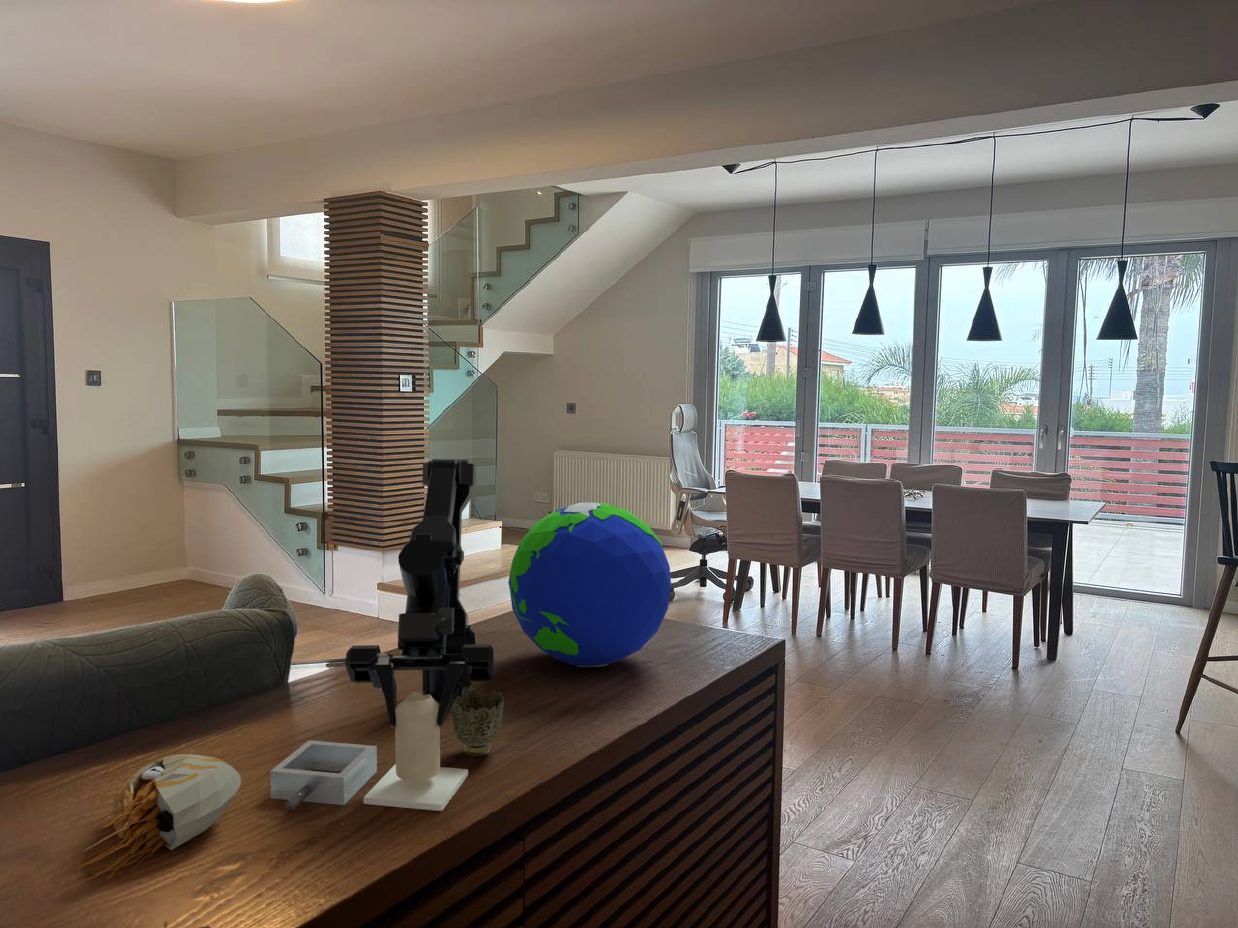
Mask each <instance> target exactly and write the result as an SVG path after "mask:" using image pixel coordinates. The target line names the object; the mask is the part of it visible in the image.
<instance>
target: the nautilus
mask: <svg viewBox="0 0 1238 928" xmlns="http://www.w3.org/2000/svg"><path fill="white" fill-rule="evenodd" d="M241 783H242V779H241V775H240V773H239V771H237V770H236V769H235V768H234V767H233V766H232V765H230V764H228V763H227V762H225V761H224V760H222V759H220V758H218V757H214V756H207V755H202V754H191V753H187V754H185V753H181V754H174V755H169V756H166V757H163V758H160V759H159V760H155V761H154V762H151V763H150V764H147V765H145V766H143V767H141V768H140V769H139V770H137V772H135V773H134V774H133V775H131V776H130V777H129V778H128V779H127V780H126V781H125V783H124V785H123V786H122V787H121V788H120V789H119V790H118V791H117V792H116V793H115V796H114V798H113V801H112V809H111V811H112V812H110V813H108V814H106V815H104V816H103V817H101V818H99V819H97V820H95V821H93V822H91V823H89V824H88V825H86V826H84V828H88V827H90V826H92V825H94V824H95V823H98V822H100V821H102V820H104V819H106V818H107V817H110V816H112V815H113V816H112V817H113V819H112V820H110V821H109V822H108V823H106V824H104V825H102V826H100V827H99V828H97V829H95V830H94V831H92V833H94V832H97V831H99V830H101V829H105V828H107V827H109V826H111V825H113V824H114V829H115V832H113V833H111V834H109V835H107V836H106V837H104V838H102V839H100V840H99V841H97V842H96V843H94V844H92V845H90V846H88V847H87V848H86V849H84V850H82V851H81V853H83V852H86V851H88V850H90V849H91V848H93V847H95V846H96V845H98V844H100V843H102V842H104V841H105V840H107V839H109V838H111V837H113V836H114V835H116V834H117V835H118V837H119V838H121V839H122V840H121V841H120V842H119V843H118V844H116V845H113V846H112V847H111V848H109V849H107V850H105V851H104V852H102V853H100V854H99V855H97V856H96V857H94V858H91V859H90V860H88V861H86V862H84V863H82V864H80V865H78V866H75V867H74V869H78V868H82V867H86V866H88V865H90V864H93V863H95V862H98V861H100V860H102V859H105V857H107V856H109V855H111V854H112V853H114V852H116V851H117V850H119V849H121V848H127V847H130V846H131V848H130V849H129V851H127V852H126V853H125V854H124V855H121V856H120V857H118V858H117V859H115V860H113V861H112V862H109V863H107V864H105V865H103V866H101V867H98V868H96V869H94V870H95V871H98V872H94V873H93V872H90V873H89V875H93V876H90V877H89V878H87V879H84V880H81V881H80V882H87V881H88V880H92V879H94V878H95V877H98V876H100V875H101V874H103V873H108V872H112V871H113V872H112V873H111V875H110V876H109V877H108V878H107V880H109V879H111V878H112V877H113V876H114V874H115V873H116V872H117V871H118V870H119V869H121V868H123V867H126V866H130V865H132V864H134V863H135V862H137V861H139V860H140V859H141V858H142V857H143V856H144V855H145V854H148V853H149V854H148V855H145V856H144V857H143V858H142V859H141V860H140V861H139V862H137V864H136V865H135V866H134V868H133V869H132V871H130V873H133V872H134V871H135V870H136V868H137V867H138V866H139V865H140V864H141V863H142V862H143V861H144V859H145V858H147V857H150V856H151V855H153V854H154V853H155V852H156V851H158V850H159V849H160V848H161V847H162V846H163V847H166V848H167V849H169V850H170V851H172V850H174V849H177V847H179V846H181V845H182V844H184V843H186V842H187V841H190V840H191V839H193V838H195V837H196V836H198V835H200V834H201V833H203V832H205V831H206V830H207V829H209V828H210V827H211V826H212V825H213V824H215V822H217V821H218V820H219V818H220V817H221V815H222V814H223V813H224V811H225V810H226V808H228V807H229V805H230V804H231V803H232V801H233V799H234V797H235V795H236V793H237V791H238V790H239V788H240V787H241V785H242V784H241ZM126 841H127V842H126ZM125 842H126V843H125ZM144 843H145V844H144ZM143 844H144V847H143V848H142V849H141V850H140V851H138V850H139V848H140V847H141V846H142V845H143ZM137 851H138V852H137ZM130 854H131V856H129V855H130ZM138 855H139V856H138ZM128 856H129V857H128ZM134 856H138V857H137V858H135V859H134V860H132V861H129V860H130V859H131V858H133V857H134ZM123 860H124V861H123ZM122 861H123V863H121V864H120V865H118V864H119V863H120V862H122ZM128 861H129V862H128ZM115 865H118V866H115ZM114 866H115V867H114ZM101 869H104V870H102V871H99V870H101Z"/></svg>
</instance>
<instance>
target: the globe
mask: <svg viewBox="0 0 1238 928" xmlns="http://www.w3.org/2000/svg"><path fill="white" fill-rule="evenodd" d="M509 571H510V572H509V577H508V586H509V587H508V588H509V593H510V595H509V596H510V602H511V603H510V604H511V608H512V611H513V613H514V615H515V618H516V619H517V622H518V623H519V625H520V628H521V629H522V631H523V633H524V634H525V635H526V636H527V637H528V638H529V639H530V640H531V641H532V643H534V644H535V646H537V647H538V648H539V649H540V650H541V651H543V652H544V653H546V654H547V655H550V656H551V657H552V658H554V659H556V660H559V661H561V662H563V663H567V664H571V665H574V666H576V667H582V668H587V667H589V668H590V667H591V668H592V667H593V668H597V667H600V668H601V667H606V666H609V665H610V664H613V663H618V662H619V661H621V660H623V659H625V658H627V657H629V656H631V655H633V654H634V653H637V652H638V651H640V650H641V649H642V648H643V647H644V646H645V645H646V644H647V643H648V642H649V641H650V640H651V638H653V636H654V635H655V634H657V633H658V631H659V630H660V627H661V624H663V623H662V622H663V620H664V618H665V616H666V614H667V613H668V610H669V605H670V596H671V590H672V588H671V587H672V580H671V579H672V578H671V577H672V576H671V566H670V563H669V561H668V558H667V556H666V553H665V550H664V545H663V543H662V541H660V539H659V538H658V536H657V535H656V534H655V533H654V531H653V530H652V529H651V528H650V526H649V525H648V524H647V523H645V522H644V521H643V520H641V519H640V518H638V517H637V516H635V515H634V514H633V513H631V512H630V511H628V510H627V509H624V508H620V507H618V506H614V505H611V504H608V503H604V502H578V503H575V504H571V505H568V506H566V507H562V508H560V509H556V510H555V511H552V512H550V513H549V514H547V515H546V516H544V517H543V518H542V519H540V520H539V521H537V522H535V523H534V524H533V526H531V528H530V529H529V531H528V532H527V533H526V534H525V536H524V537H523V538H522V540H521V541H520V542H519V543H518V547H517V548H516V551H515V553H514V555H513V558H512V561H511V566H510V570H509Z"/></svg>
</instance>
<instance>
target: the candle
mask: <svg viewBox="0 0 1238 928" xmlns="http://www.w3.org/2000/svg"><path fill="white" fill-rule="evenodd" d="M439 708H440V703H439V702H438V701H435V700H434V699H433V698H432V697H431V695H430V694H427V695H423V694H422V693H420V692H418V691H413V692H411V693H409V694H408V695H407V696H406V697H405V698H404V699H403V700H401V701H400V702H399V703H398V704H396V708H395V727H394V729H395V730H394V732H395V737H394V739H395V745H394V746H395V748H394V749H395V764H396V775H397V776H398V777H399V778H401V779H403V780H407V781H421V780H426V779H429V778H432V777H434V776H436V775H437V774H438V773H439V770H440V767H441V729H440V728H441V727H439V726H438V717H439Z"/></svg>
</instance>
